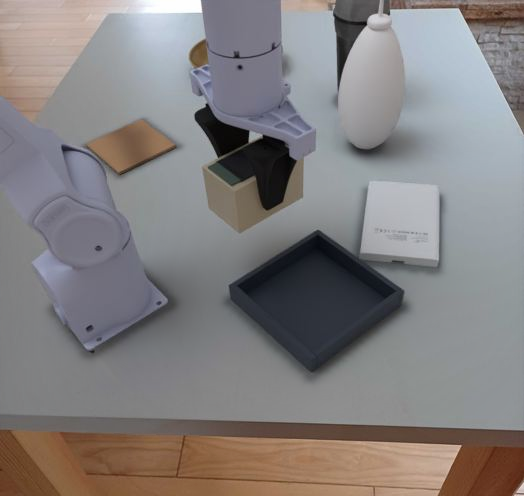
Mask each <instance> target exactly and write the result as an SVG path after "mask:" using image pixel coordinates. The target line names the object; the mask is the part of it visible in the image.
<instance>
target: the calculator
mask: <svg viewBox="0 0 524 496" xmlns="http://www.w3.org/2000/svg"><path fill="white" fill-rule="evenodd" d="M259 139H263V135H261V136H259V137H258V138H255V139H253V140H251V141H249V143H247V144H245V145H243V146H241V147H239V148H237V149H235V150H233V151H231V152H229V153H227V154H225V155H223V156H221V157H219V158H218V157H216V159H213V160H211V161H210V162H208V163H205V164H204V165H202V166H201V169H202V176H203V181H204V188H205V194H206V199H207V204H208V209H209V210H210V211H211V212H212V213H213V214H215V215H216V216H217V217H219V218H220V219H221V221H222V222H224V223H225V224H227V225H228V226H229V227H231V228H232V229H233V230H234V231H235V232H237V233H238V234H242V233H243V232H245V231H247V230H249V229H251V228H252V227H254V226H256V225H258V224H259V223H261V222H262V221H263V222H264V220H266V219H268V218H270V217H271V216H273V215H275V214H277V213H278V212H280V211H282V210H284V209H285V208H287V207H289V206H291V205H292V204H294V203H296V202H298V201H300V200H302V199H303V198H304V171H305V170H304V168H305V167H304V165H305V163H304V161H305V157H303V158H301V159H299V160H298V161H297V162H296V164H295V166H294V169H293V171H292V173H291V176H290V179H289V182H288V185H287V189H286V192H285V196H284V200H283V203H281V204H279V205H277V206H276V207H274V208H272V209H270V210H269V211H266V210H265V209H264V208H263V206H262V204H261V201H260V197H259V193H258V186H257V181H256V177H255V174H254V171H253V168H252V166H251V164H250V162H249V160H248V159H247V157H246V155H245V154H244V153H243V147H245V146H247V145H249V144H251V143H253V142H255V141H257V140H259Z"/></svg>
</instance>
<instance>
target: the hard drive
mask: <svg viewBox="0 0 524 496" xmlns="http://www.w3.org/2000/svg"><path fill="white" fill-rule="evenodd" d="M363 217H364V218H363V225H362V233H361V241H360V249H359V256H358V258H359V259H361V260H362V261H370V262H382V263H397V264H404V265H412V266H423V267H432V268H438V266H439V263H440V186H439V185H436V184H426V183H412V182H401V181H400V182H399V181H387V180H386V181H385V180H369V181H368V187H367V194H366V201H365V209H364V216H363Z"/></svg>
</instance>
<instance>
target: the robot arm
mask: <svg viewBox="0 0 524 496" xmlns="http://www.w3.org/2000/svg"><path fill="white" fill-rule="evenodd" d="M200 7H201V14H202V21H203V28H204V36H205V37H204V38H206V46H207V54H208V61H209V65H208V64H207V65H204V66H202V67H200V68H197V69H196V68H195V69H192V70H190V71H189V78H190V83H191V91H192V93H193V94H194V95H196V96H197V97H204V99H205V101H206V103H205V106H204V107H202V108H200V109H197V110H196V111H195V113H194V115H193V117H194V121H195V122H196V123H197V125H198V126H199V127H200V129H202V132H203V133H204V134H205V135H206V138H207V139H208V140H209V143H210V145H211V147H212V148H213V150H214V152H215V155H216V158H219V157H221V156H223V155H225V154H227V153H229V152H231V151H233V150H235V149H237V148H239V147H241V146H243V145H245V144H247V143H249V142H250V134H251V133H250V132H252V133H255V134H260V135H261V136H263V139H259V140H257V141H255V142H253V143H251V144H249V145H247V146H245V147H243V153H244V154H245V155H246V157H247V159H248V160H249V162H250V164H251V166H252V168H253V171H254V174H255V177H256V181H257V186H258V193H259V197H260V201H261V204H262V206H263V208H264V209H265V210H266V211H269V210H270V209H272V208H274V207H276V206H277V205H279V204H281V203H283V200H284V196H285V192H286V189H287V185H288V182H289V179H290V176H291V173H292V171H293V169H294V166H295V164H296V162H297V161H298V160H299V159H301V158H303V157H304V158H305V157H307V156H310V155H311V154H312V153H314V152H316V150H317V149H316V148H317V128H316V127H314V126H313V125H311V124H310V123H309V122H308V121H306V119H305V118H304V116H302V114H301V113H300V112H299V110H298V109H297V108H296V106H295V105H294V103H293V102H292V100H291V99H290V98H289V97H288V96H289V95H291V92H292V91H291V90H292V89H291V88H292V85H291V84H290V82H287V81H285V80H284V79H283V52H282V47H283V43H282V40H283V39H282V38H283V36H282V35H283V34H282V33H283V32H282V31H283V30H282V0H200ZM0 188H1V190H2V191H3V192H4V194H5V195H6V197H7V198H8V200H9V201H10V203H11V205H12V206H13V207H14V209H15V211H16V212H17V214H18V215H19V217H20V219H22V221H23V223H24V224H25V225H27V226H28V227H30V228H31V229H32V230H34V231H35V232H36V233H37V234H39V236H40V237H41V238H42V239H43V241H44V244H45V245H46V249H45V250H44V252H42V253H41V254H40V255H39V256H38V257H36V258H35V259H34V260H32V261H31V262H30V266H31V268H32V270H33V272H34V274H35V276H36V278H37V279H38V281H39V283H40V284H41V286H42V288H43V289H44V291H45V293H46V295H47V296H48V298H49V300H50V302H51V303H52V306H53V308H54V312H55V314H56V315H57V317H58V318H59V320H60V321H61V322H62V324H63V325H64V326H68V328H69V329H70V331H71V332H72V333H73V334H74V335H75V336H76V338H77V339H78V340H79V342H80V343H81V344H82V345H83V347H84V348H85V349H86V351H88V352H92V351H95V350H94V349H95V348H97V347H98V346H100V345H101V344H103V343H105V342H107V341H108V340H110V339H111V338H114V337H115V336H116V335H118V334H120V333H122V332H123V331H125V330H126V329H128V328H130V327H131V326H132V325H134V324H136V323H138V322H139V321H141V320H143V319H144V318H146V317H148V316H149V315H151V314H153V313H154V312H156V311H158V310H159V309H162V308H163V307H165V306H166V305H167V304H168V303H169V299H168V298H167V297H166V295H165V294H163V293H162V292H161V291H160V290H159V289H158V287H156V285H154V284H153V282H151V281H150V279H149V278H147V275H146V272H145V269H144V266H143V263H142V259H141V257H140V254H139V251H138V247H137V244H136V242H135V239H134V236H133V233H132V230H131V227H130V224H129V221H128V219H127V218H126V217H125V215H123V214H122V213H121V212H120V211H118V209H117V207H116V204H115V203H116V202H115V200H114V197H113V195H112V192H111V189H110V186H109V183H108V178H107V172H106V168H105V166H104V164H103V162H102V161H101V159H100V158H99V157H98V156H97V155H96V154H95V153H94V152H93V151H92V152H91V150H88V149H87V148H84V147H82V146H78V145H75V144H73V143H70V142H69V141H66V140H65V139H63V138H62V137H61V136H60V135H59V134H57V133H56V132H55V131H54V130H53V129H51V128H47V127H42V126H37V125H35V124H34V123H33V122H32V121H31V120H30V119H28V117H26V116H25V115H24V114H23V113H22V112H21V111H20V110H18V108H17V107H15V106H14V105H13V104H12V103H11V102H10V101H8V99H6V98H5V97H4V95H2V94H1V93H0ZM158 303H160V304H158ZM98 339H101V340H98Z"/></svg>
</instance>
